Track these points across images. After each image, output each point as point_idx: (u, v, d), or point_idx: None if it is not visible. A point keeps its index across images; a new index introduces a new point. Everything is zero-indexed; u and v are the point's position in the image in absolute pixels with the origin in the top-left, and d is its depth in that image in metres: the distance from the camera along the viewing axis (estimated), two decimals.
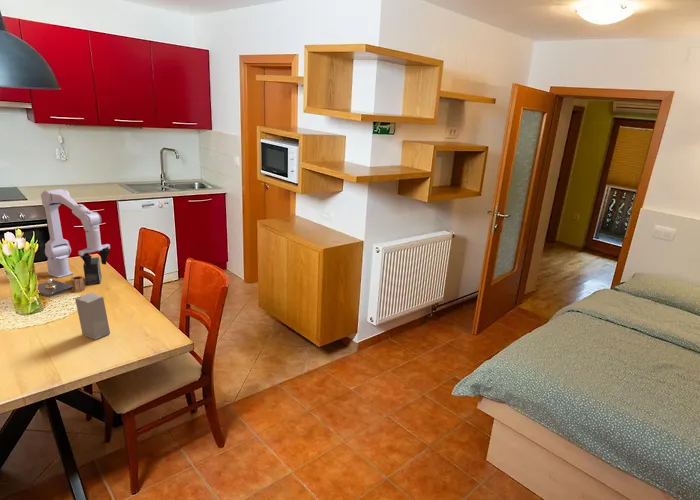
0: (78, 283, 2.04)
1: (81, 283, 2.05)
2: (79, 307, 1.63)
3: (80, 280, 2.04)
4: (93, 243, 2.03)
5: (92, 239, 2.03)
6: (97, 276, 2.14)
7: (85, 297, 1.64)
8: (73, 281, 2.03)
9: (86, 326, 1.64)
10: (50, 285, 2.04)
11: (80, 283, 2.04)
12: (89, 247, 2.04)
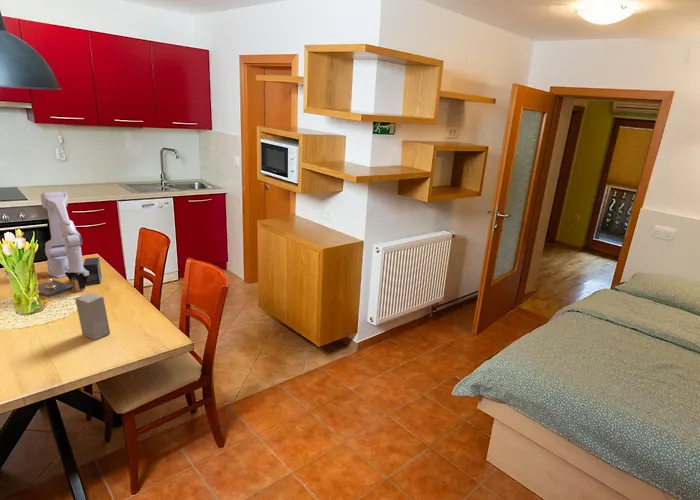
0: None
1: None
2: (79, 307, 1.63)
3: None
4: (68, 263, 2.02)
5: (71, 260, 1.99)
6: (97, 276, 2.14)
7: (85, 297, 1.64)
8: (73, 281, 2.03)
9: (86, 326, 1.64)
10: (50, 285, 2.04)
11: None
12: None
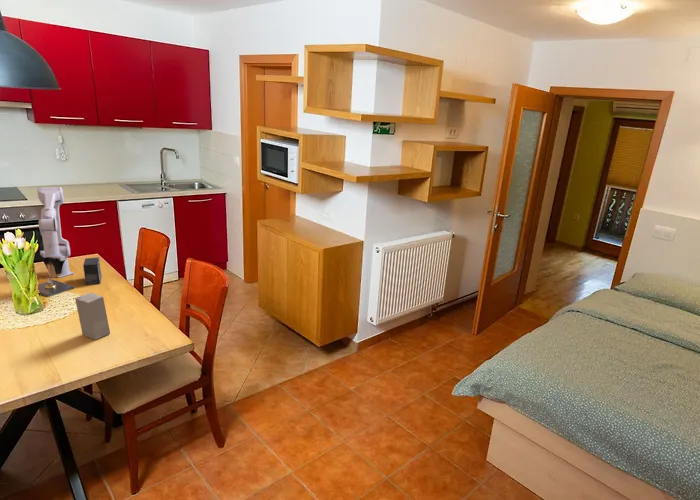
0: None
1: None
2: (79, 307, 1.63)
3: None
4: None
5: (45, 245, 1.97)
6: (97, 276, 2.14)
7: (85, 297, 1.64)
8: (49, 266, 2.00)
9: (86, 326, 1.64)
10: (50, 285, 2.04)
11: None
12: None
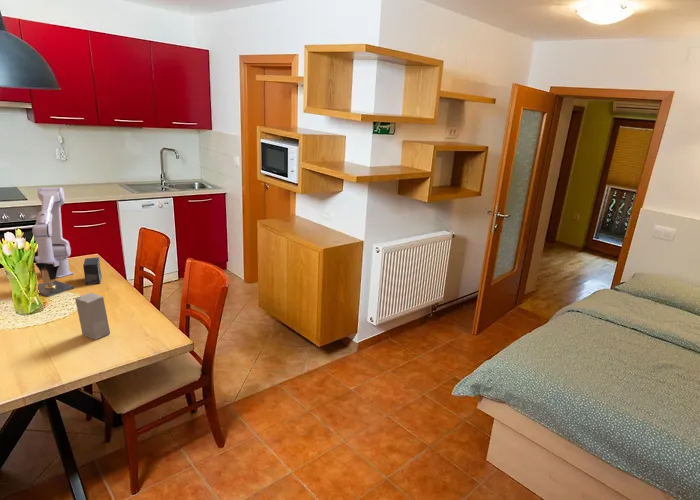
0: (48, 274, 2.01)
1: None
2: (79, 307, 1.63)
3: None
4: (38, 253, 1.99)
5: (38, 250, 1.97)
6: (97, 276, 2.14)
7: (85, 297, 1.64)
8: (43, 272, 2.01)
9: (86, 326, 1.64)
10: (50, 285, 2.04)
11: None
12: None
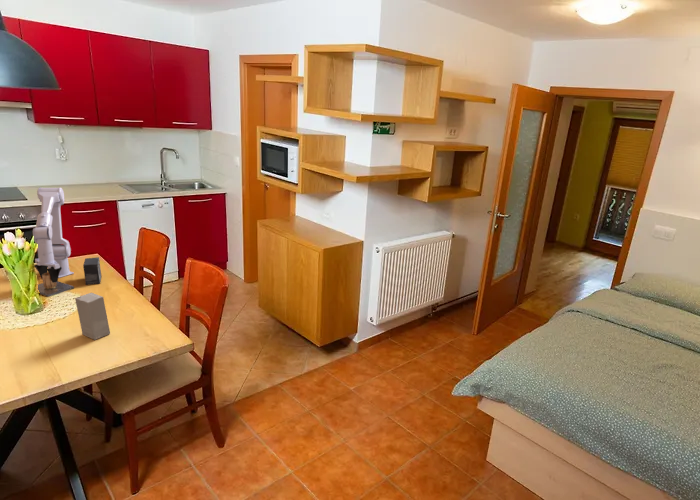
0: (49, 279, 2.02)
1: None
2: (79, 307, 1.63)
3: None
4: (38, 255, 2.00)
5: (39, 252, 1.98)
6: (97, 276, 2.14)
7: (85, 297, 1.64)
8: (44, 277, 2.02)
9: (86, 326, 1.64)
10: None
11: None
12: None
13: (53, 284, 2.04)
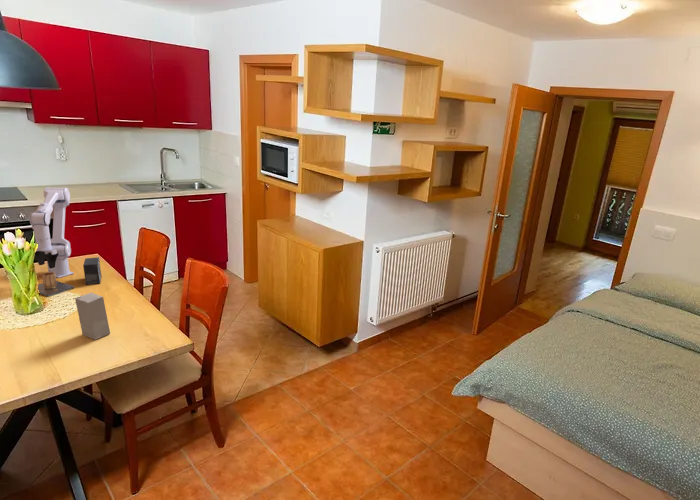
0: (49, 279, 2.02)
1: (52, 279, 2.03)
2: (79, 307, 1.63)
3: (51, 276, 2.02)
4: None
5: (36, 238, 2.00)
6: (97, 276, 2.14)
7: (85, 297, 1.64)
8: (44, 277, 2.02)
9: (86, 326, 1.64)
10: None
11: (51, 279, 2.03)
12: None
13: (53, 284, 2.04)
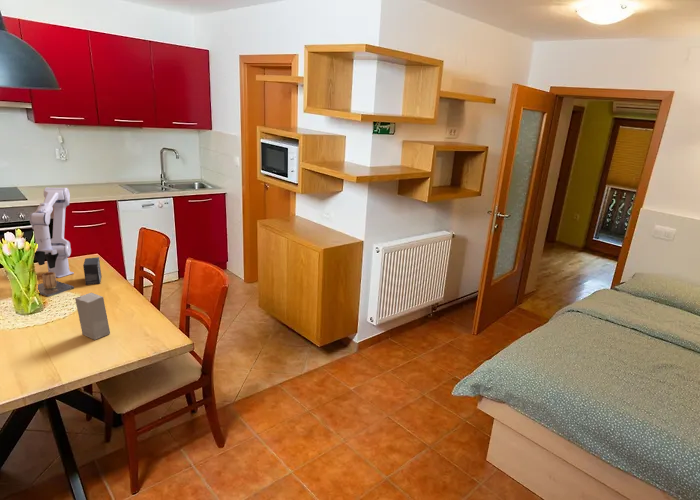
0: (49, 279, 2.02)
1: (52, 279, 2.03)
2: (79, 307, 1.63)
3: (51, 276, 2.02)
4: None
5: (36, 238, 2.00)
6: (97, 276, 2.14)
7: (85, 297, 1.64)
8: (44, 277, 2.02)
9: (86, 326, 1.64)
10: None
11: (51, 279, 2.03)
12: None
13: (53, 284, 2.04)
